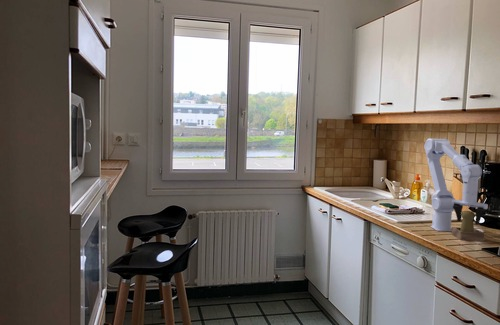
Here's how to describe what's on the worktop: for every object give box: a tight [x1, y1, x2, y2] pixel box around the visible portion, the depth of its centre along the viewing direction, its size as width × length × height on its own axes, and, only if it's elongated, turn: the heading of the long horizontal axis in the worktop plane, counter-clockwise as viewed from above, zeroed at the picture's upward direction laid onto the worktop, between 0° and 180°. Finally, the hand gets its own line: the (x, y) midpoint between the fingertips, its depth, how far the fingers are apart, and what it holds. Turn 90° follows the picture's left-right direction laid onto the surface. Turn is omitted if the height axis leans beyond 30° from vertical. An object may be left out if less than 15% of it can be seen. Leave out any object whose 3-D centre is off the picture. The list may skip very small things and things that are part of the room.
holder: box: [451, 226, 485, 242], centre depth 189 cm, size 10×10×4 cm
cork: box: [460, 210, 476, 232], centre depth 188 cm, size 6×6×11 cm
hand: (468, 222), depth 189 cm, fingers open, 7 cm apart
